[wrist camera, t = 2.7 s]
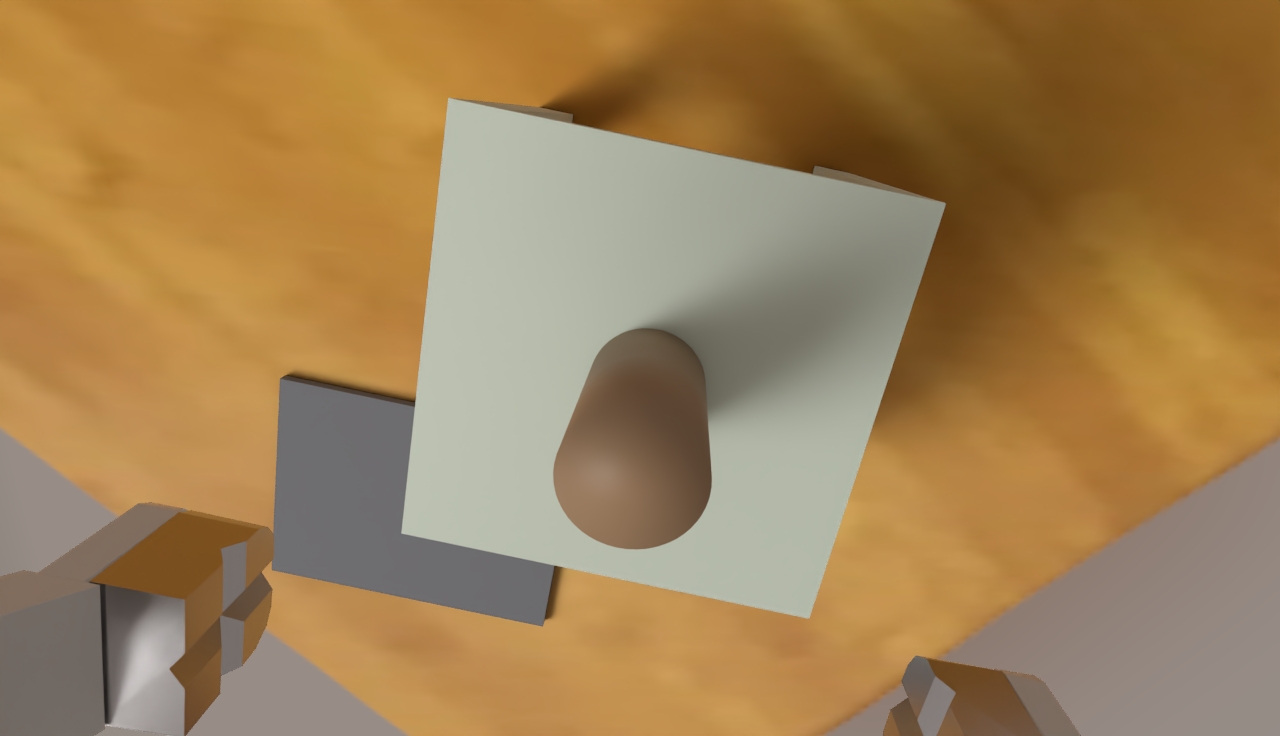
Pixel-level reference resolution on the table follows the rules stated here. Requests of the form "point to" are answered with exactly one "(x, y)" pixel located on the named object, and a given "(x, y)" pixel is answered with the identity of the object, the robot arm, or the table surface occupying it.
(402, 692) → the table surface
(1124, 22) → the table surface
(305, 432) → the mat
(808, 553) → the cover
